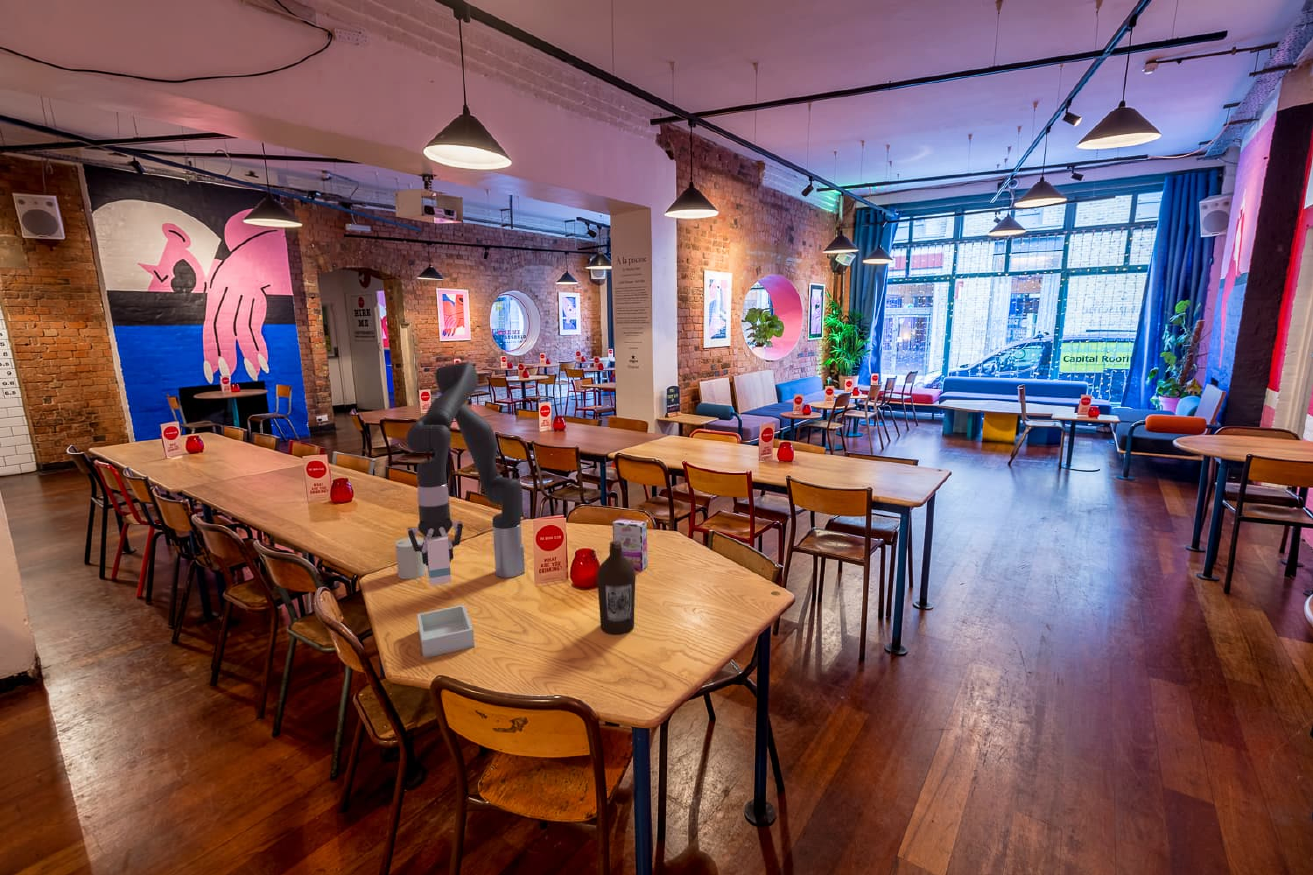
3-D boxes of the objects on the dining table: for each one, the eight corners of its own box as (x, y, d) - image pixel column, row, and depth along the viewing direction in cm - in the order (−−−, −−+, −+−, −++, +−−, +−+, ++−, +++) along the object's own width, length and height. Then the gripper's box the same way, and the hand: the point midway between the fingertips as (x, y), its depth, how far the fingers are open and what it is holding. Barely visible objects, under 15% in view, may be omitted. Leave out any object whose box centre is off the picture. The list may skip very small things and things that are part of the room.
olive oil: (596, 620, 172) (593, 537, 167) (632, 615, 174) (631, 534, 169) (601, 638, 162) (598, 551, 157) (639, 634, 164) (638, 547, 159)
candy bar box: (648, 566, 209) (647, 521, 206) (642, 571, 205) (641, 525, 202) (619, 561, 213) (618, 517, 210) (613, 566, 209) (611, 522, 206)
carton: (447, 571, 164) (444, 529, 162) (451, 582, 157) (448, 538, 154) (427, 574, 162) (424, 532, 159) (430, 586, 154) (427, 541, 152)
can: (397, 570, 207) (394, 537, 205) (426, 566, 210) (423, 534, 208) (397, 581, 199) (394, 547, 196) (427, 576, 202) (424, 542, 200)
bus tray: (465, 620, 172) (464, 604, 171) (474, 646, 158) (473, 629, 157) (418, 630, 167) (417, 614, 166) (423, 658, 153) (422, 640, 152)
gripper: (460, 494, 162) (464, 553, 165) (403, 500, 155) (408, 562, 159) (464, 501, 155) (468, 563, 158) (404, 508, 149) (409, 572, 152)
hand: (438, 562), depth 158 cm, fingers closed on carton, 5 cm apart
